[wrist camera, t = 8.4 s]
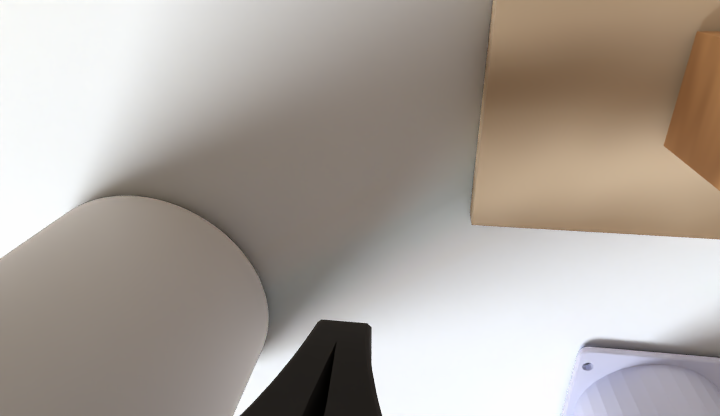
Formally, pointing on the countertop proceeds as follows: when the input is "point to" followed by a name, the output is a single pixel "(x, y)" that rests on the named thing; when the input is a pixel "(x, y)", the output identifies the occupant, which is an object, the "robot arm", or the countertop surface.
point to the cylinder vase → (128, 315)
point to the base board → (589, 118)
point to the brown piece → (699, 110)
